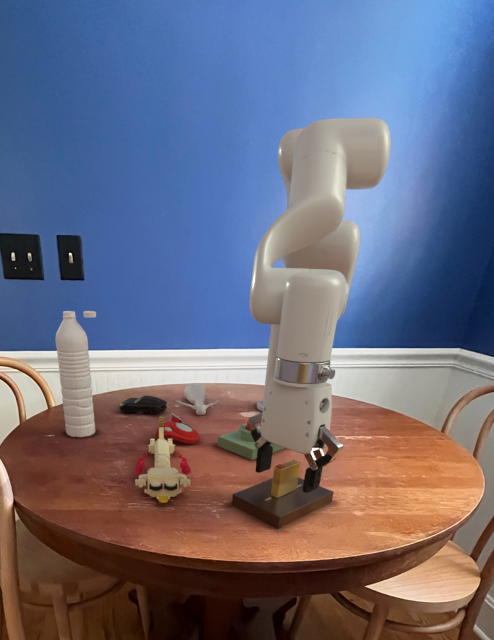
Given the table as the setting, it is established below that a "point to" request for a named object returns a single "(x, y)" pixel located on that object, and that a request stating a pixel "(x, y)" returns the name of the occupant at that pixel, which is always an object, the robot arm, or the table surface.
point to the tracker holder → (179, 431)
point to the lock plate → (280, 502)
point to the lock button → (249, 426)
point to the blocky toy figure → (162, 469)
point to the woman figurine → (196, 398)
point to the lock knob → (285, 478)
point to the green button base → (241, 443)
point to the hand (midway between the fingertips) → (285, 480)
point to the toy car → (143, 405)
